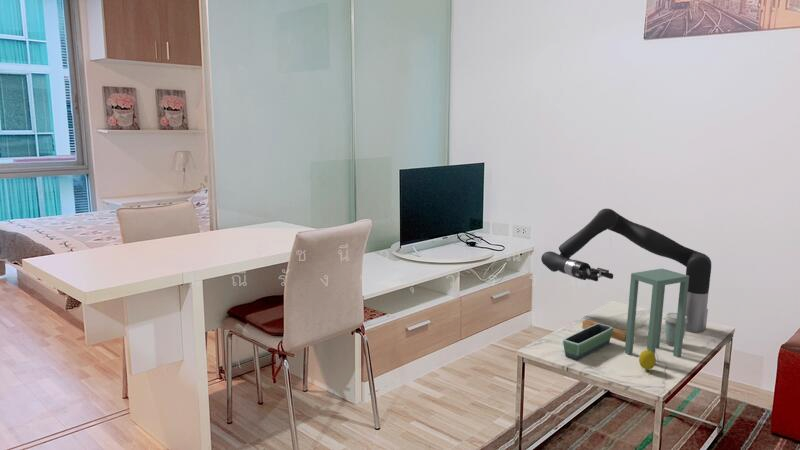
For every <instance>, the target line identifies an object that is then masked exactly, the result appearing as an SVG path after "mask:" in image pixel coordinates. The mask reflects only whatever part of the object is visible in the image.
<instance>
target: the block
mask: <svg viewBox="0 0 800 450" xmlns="http://www.w3.org/2000/svg"><path fill="white" fill-rule="evenodd" d="M597 323H599V322H597V321H593V320H590V319H586V320H582V326H581V327H582V330H584V329H586V328H588V327H590V326H593V325H595V324H597ZM599 324H601V323H599ZM610 339H614V340H616V341H620V342H623V343H626V330H621V329H618V328H615V327H613V332H612V335H611V338H610Z"/></svg>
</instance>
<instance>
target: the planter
mask: <svg viewBox="0 0 800 450" xmlns="http://www.w3.org/2000/svg"><path fill="white" fill-rule="evenodd" d="M613 328H614V326H610V325H607V324H603V323H600V324H599V322H597V324H595V325H593V326H590V327H588V328H586V329H582V330H580V331H578V332H576V333H573V334H572V335H569V336H567V337H565V338H563V339H562V345H563V350H564V356H565V357H566V358H568V359H571V358H572V359H571V360H574V361H579V360H582V359H583V358H585V357H587V356H589V355H590V354H593V353H594V352H596V351H598V350H600V349H602V348H604V347H606V346H607V345H609V343H610V342H611V339H612V338H611V335H612V332H613Z"/></svg>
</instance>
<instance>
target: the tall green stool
mask: <svg viewBox="0 0 800 450" xmlns="http://www.w3.org/2000/svg"><path fill="white" fill-rule="evenodd" d="M640 282H641V283H645V284H649V285H650V286H651V285H652V289H651V300H650V311H649V324H648V336H647V343H646V344H647V346H646V350H647V349H649V350H650V351H652V352H653V353H654V354H655V355H656V349H658V348H660V346H661V345H660V344H661V343H660V342H661V334H662V333H661V332H662V322H663V314H664V313H663V312H664V302H665V292H666V291H665V290H666V286H667V285H668V286H669V285H673V284H674V285H675V284H679V292H678V293H679V294H678V304H677V312H676V313H677V322H676V332H675V342H674V346H673V352H672V355H673V357H675V358H681V357H682V354H683V353H682V352H683V344H684V342H683V341H684V338H683V334H684V335H685V333H684V324H685V314H686V304H687V294H688V284H689V276H688V275H686V274H683V273H680V272H676V271H673V270H669V269H665V268H657V269H650V270H644V271H637V272H632V273H631V274H630V285H629V295H628V296H629V299H628V306H627V308H628V309H627V321H626V330H625V332H626V342H624V344H625V345H624V354H626V355H633V352H634V351H633V350H634V341H635V330H636V317H637V306H638V305H637V303H638V293H639V283H640Z"/></svg>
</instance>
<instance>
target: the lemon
mask: <svg viewBox="0 0 800 450" xmlns="http://www.w3.org/2000/svg"><path fill="white" fill-rule="evenodd" d="M638 362H639V365H640V366H641V368H642V369H644V371H648V370H652V369H653V368H654V367H655V365H656V362H657V360H656V353H655V354H654V353H653V352H652V351H650V350H649V349H647V348H646V349H644V350H642V351H641V352H640V354H639V357H638Z"/></svg>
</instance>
